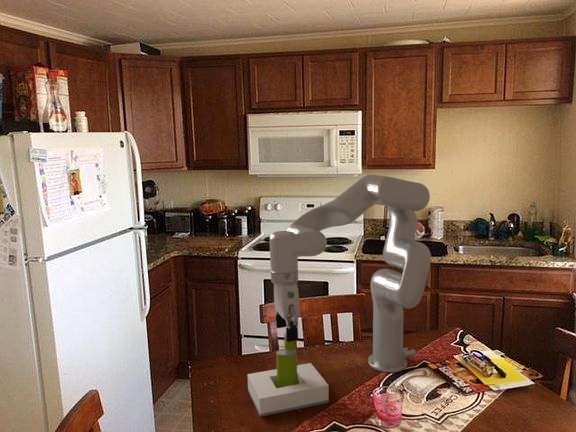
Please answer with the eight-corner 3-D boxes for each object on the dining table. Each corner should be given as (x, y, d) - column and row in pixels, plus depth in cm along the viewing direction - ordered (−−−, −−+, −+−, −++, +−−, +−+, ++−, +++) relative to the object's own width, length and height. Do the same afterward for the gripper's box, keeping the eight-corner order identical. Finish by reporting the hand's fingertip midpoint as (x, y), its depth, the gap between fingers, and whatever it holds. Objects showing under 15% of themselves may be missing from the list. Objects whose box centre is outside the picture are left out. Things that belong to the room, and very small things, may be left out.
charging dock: (311, 378, 149) (310, 363, 148) (328, 402, 136) (328, 385, 135) (248, 390, 143) (247, 374, 142) (260, 416, 130) (259, 398, 129)
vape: (297, 396, 138) (295, 330, 134) (276, 395, 139) (274, 329, 135) (298, 390, 141) (297, 325, 138) (278, 388, 142) (276, 324, 139)
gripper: (308, 283, 126) (310, 344, 129) (287, 266, 142) (289, 320, 145) (281, 287, 124) (283, 348, 127) (263, 269, 140) (265, 324, 143)
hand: (286, 333), depth 136 cm, fingers open, 9 cm apart
